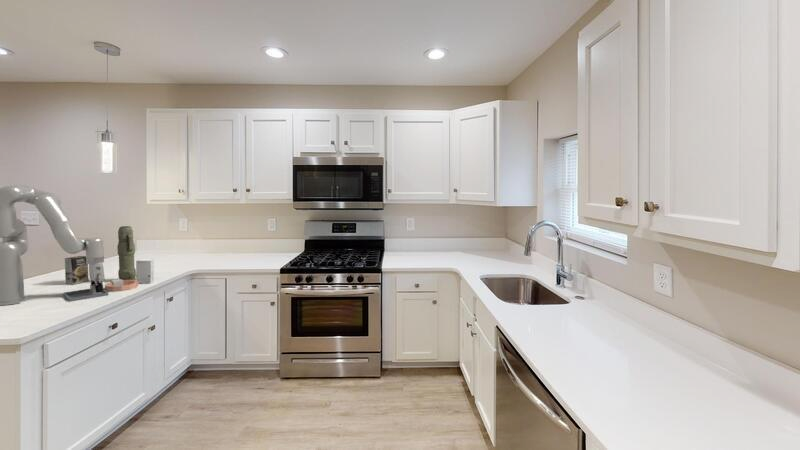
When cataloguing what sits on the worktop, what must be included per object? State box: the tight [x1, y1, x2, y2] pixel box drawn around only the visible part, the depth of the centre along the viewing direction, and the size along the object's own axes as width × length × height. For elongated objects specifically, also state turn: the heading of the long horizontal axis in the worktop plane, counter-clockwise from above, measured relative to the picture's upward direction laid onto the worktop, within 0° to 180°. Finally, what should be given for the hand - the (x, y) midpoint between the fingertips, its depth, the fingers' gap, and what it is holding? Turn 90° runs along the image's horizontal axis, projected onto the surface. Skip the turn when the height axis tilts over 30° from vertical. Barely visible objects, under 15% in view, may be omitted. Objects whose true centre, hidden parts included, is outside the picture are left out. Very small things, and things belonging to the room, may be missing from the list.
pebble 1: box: [89, 284, 103, 295], centre depth 201 cm, size 4×4×5 cm
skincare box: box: [135, 258, 155, 285], centre depth 228 cm, size 8×6×15 cm
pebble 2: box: [110, 278, 123, 286], centre depth 211 cm, size 4×4×5 cm
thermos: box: [116, 225, 136, 280], centre depth 231 cm, size 9×12×35 cm
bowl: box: [104, 280, 139, 293], centre depth 213 cm, size 15×15×4 cm
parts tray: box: [63, 288, 109, 302], centre depth 198 cm, size 16×16×2 cm
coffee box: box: [64, 255, 90, 286], centre depth 223 cm, size 9×6×16 cm
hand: (97, 290), depth 201 cm, fingers open, 9 cm apart
